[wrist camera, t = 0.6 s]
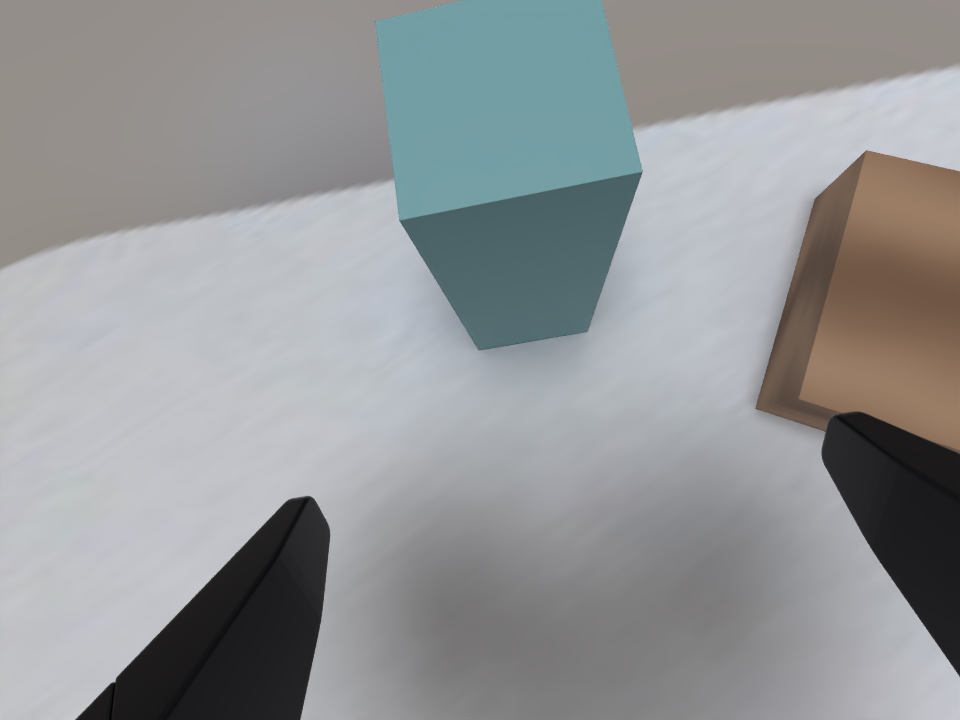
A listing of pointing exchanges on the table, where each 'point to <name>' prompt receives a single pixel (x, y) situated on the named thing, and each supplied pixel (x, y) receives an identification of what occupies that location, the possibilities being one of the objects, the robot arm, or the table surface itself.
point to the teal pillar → (510, 158)
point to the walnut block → (875, 304)
